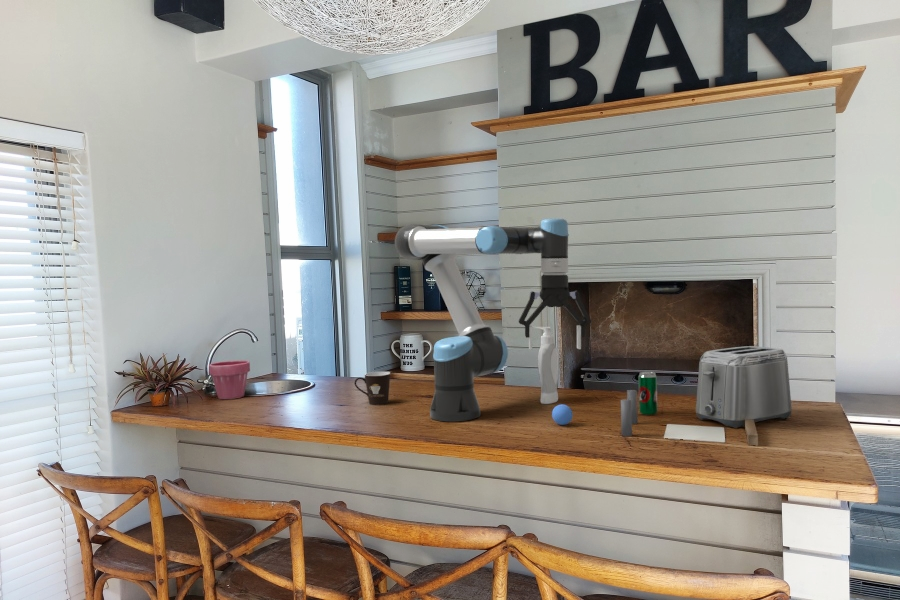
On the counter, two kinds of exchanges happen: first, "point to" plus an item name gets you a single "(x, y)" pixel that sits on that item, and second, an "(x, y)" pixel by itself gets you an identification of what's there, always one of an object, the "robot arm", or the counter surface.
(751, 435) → the wall
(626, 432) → the post
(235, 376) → the plant pot
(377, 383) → the coffee mug
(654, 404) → the soda can
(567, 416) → the ball
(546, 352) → the soap bottle
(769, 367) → the toaster
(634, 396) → the post
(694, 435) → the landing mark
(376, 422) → the counter surface
